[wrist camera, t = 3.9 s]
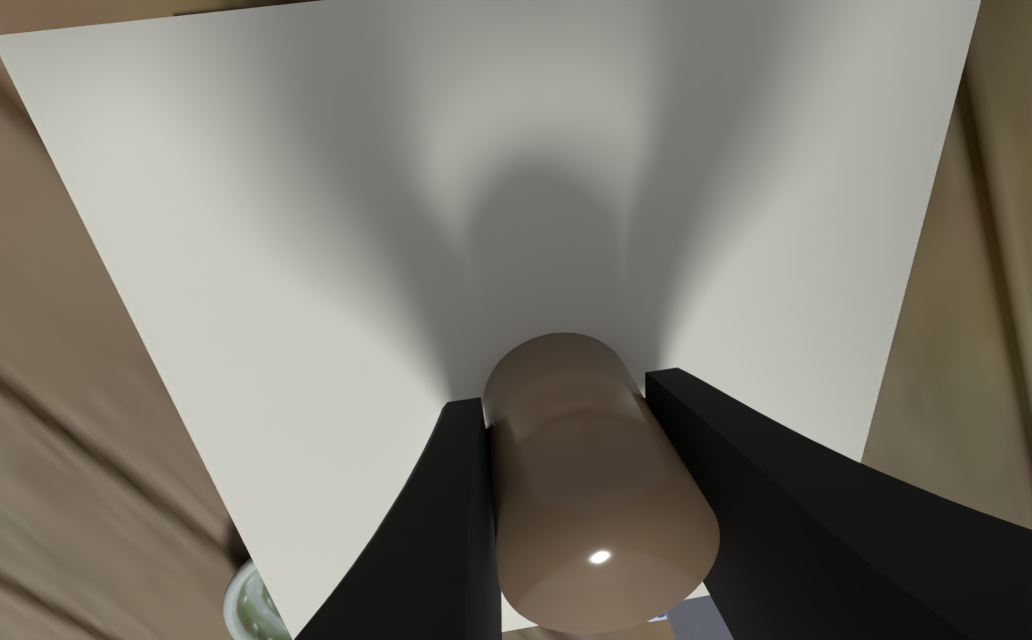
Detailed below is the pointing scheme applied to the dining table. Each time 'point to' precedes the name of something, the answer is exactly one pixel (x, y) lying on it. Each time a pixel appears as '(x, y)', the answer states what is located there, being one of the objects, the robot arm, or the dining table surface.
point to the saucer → (251, 608)
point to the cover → (502, 252)
